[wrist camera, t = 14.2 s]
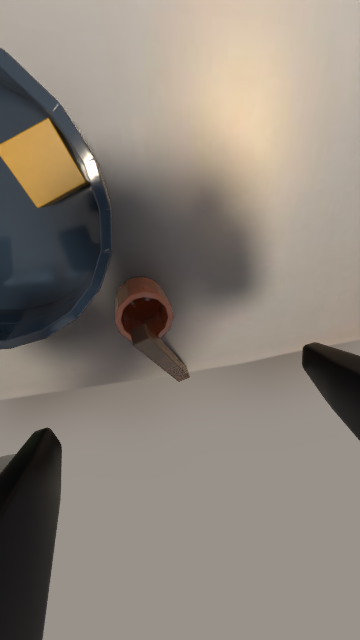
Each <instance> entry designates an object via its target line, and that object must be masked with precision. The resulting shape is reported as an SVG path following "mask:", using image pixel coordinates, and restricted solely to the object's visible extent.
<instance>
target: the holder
mask: <svg viewBox="0 0 360 640" xmlns="http://www.w3.org/2000/svg"><path fill="white" fill-rule="evenodd" d="M172 320H173V313H172V309H171V305H170V303H169V301H168V299H167V297H166V295H165V293H164V291H163V289H162V288H161V287H160V286H159V285H158V283H156V282H155V281H153V280H152V279H149V278H146V277H135V278H131V279H129V280H127V281H126V282H124V283H123V284H122V285H121V286H120V287H119V289H118V291H117V293H116V298H115V322H116V325H117V327H118V330H119V332H120V334H122V335H123V336H124V337H126V338H127V339H128V340H130V341H132V339H131V335H130V330H131V329H133V328H135V327H138V326H140V325H142V324H144V323H145V324H146V325H147V326H148V327H149V328H150V329H151V330H152V331H153V332H154V333H155V334H156V335H157V336H158V337H159V338H161V337H162V336H163V335H164V334H165V333H166V332H167V331H168V330H169V329H170V326H171V323H172Z"/></svg>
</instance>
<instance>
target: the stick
mask: <svg viewBox="0 0 360 640" xmlns="http://www.w3.org/2000/svg"><path fill="white" fill-rule="evenodd" d="M130 335H131V339H132V343H133V346H135V347H136V348H137V349H138V350H140V351H141V352H142V353H143V354H145V355H146V356H147V357H148V358H150V359H151V360H152V361H153V362H155V363H156V364H157V365H158V366H160V367H161V368H162V369H163V370H165V371H166V372H167V373H169V374H170V375H171V376H172V377H174V378H175V379H176V380H177V381H179V382H180V381H182V380H184V379H187V378H189V377H190V376H189V373H188V370H187V367H186V366H185V365H184V364H183V363H182V362H181V361H180V360H179V359H178V358H177V356H176V355H175V354H174V353H173V352H172V351H171V350H170V349H169V348H168V347H167V346H166V345H165V344H164V343H163V342H162V341H161V340H160V338H159V337H158V336H157V335H156V334H155V333H154V332H153V331H152V330H151V329H150V328H149V327H148V326H147V325H146V324H145V323H144V324H142V325H140V326H138V327H135V328H133V329H131V330H130Z"/></svg>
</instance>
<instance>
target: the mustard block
mask: <svg viewBox="0 0 360 640" xmlns="http://www.w3.org/2000/svg"><path fill="white" fill-rule="evenodd" d="M0 157H1V158H2V159H3V161H4V162H5V164H6V165H7V166H8V168H9V169H10V171H11V172H12V173H13V175H14V176H15V178H16V179H17V180H18V182H19V183H20V185H21V186H22V187H23V189H24V190H25V192H26V193H27V194H28V196H29V197H30V199H31V200H32V201H33V203H34V204H35V206H36V207H37V208H42V207H46V206H50V205H52V204H54V203H56V202H58V201H59V200H61V199H63V198H65V197H67V196H68V195H70V194H72V193H74V192H76V191H78V190H79V189H81V188H83V187H85V186H87V185H88V184H90V182H89V179H88V178H87V176H86V174H85V172H84V171H83V169H82V167H81V165H80V164H79V162H78V160H77V159H76V157H75V155H74V153H73V152H72V150H71V148H70V146H69V145H68V143H67V141H66V139H65V138H64V136H63V134H62V132H61V131H60V130H59V129H58V127H57V126H56V125H55V124H54V123H53V122H52V121H51V119H50V118H46V119H44V120H42V121H41V122H39V123H37V124H35V125H33V126H32V127H30V128H28V129H26V130H24V131H23V132H21V133H19V134H17V135H15V136H14V137H12V138H10V139H8V140H6V141H5V142H3V143H1V144H0Z"/></svg>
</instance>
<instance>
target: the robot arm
mask: <svg viewBox="0 0 360 640" xmlns="http://www.w3.org/2000/svg"><path fill="white" fill-rule="evenodd" d="M302 365H303V368H304V370H305V371H306V373H307V374H308V375H309V377H310V378H311V380H312V381H313V383H314V384H315V386H316V387H317V388H318V390H319V391H320V393H321V394H322V396H323V397H324V398H325V400H326V401H327V402H328V404H329V405H330V406H331V408H332V409H333V410H334V411H335V412H336V413H337V415H338V416H339V417H340V418H341V419H342V421H343V422H344V423H345V424H346V425H347V426H348V428H349V429H350V430H351V431H352V432H353V433H354V434H355V436H356V437H357V438H358V439H359V440H360V356H358V355H355V354H352V353H349V352H345V351H342V350H339V349H336V348H332V347H329V346H326V345H323V344H320V343H316V342H314V343H310V344H307V345H305V346H304V347H303V355H302ZM61 448H62V447H61V444H60V442H59V440H58V439H57V437H56V436H55V434H54V433H53V432H52V430H51V429H50V428H44V429H41V430H38V431H36V432H34V433H33V434H32V435H31V437H30V438H29V439H28V440H27V442H26V443H25V444H24V445H23V446H22V448H21V449H20V450H19V451H18V453H17V454H16V455H15V456H14V458H13V459H12V460H11V461H10V462H9V464H8V465H7V466H6V467H5V469H4V470H3V471H2V472H1V474H0V640H42V638H43V630H44V623H45V615H46V607H47V600H48V592H49V584H50V577H51V569H52V561H53V553H54V546H55V538H56V530H57V522H58V514H59V506H60V495H61V458H62V449H61Z"/></svg>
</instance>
